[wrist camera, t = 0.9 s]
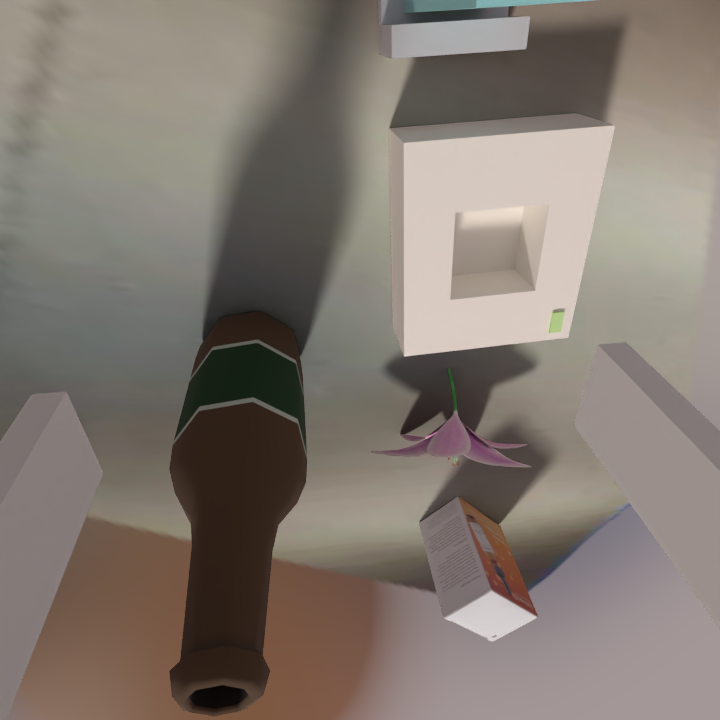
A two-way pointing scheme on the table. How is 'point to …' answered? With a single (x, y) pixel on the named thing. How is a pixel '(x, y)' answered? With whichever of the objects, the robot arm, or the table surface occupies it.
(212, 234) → the table surface
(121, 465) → the table surface
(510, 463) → the lily
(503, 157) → the port
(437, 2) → the plug
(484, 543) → the small box
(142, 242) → the table surface
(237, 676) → the beer bottle
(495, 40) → the holster
